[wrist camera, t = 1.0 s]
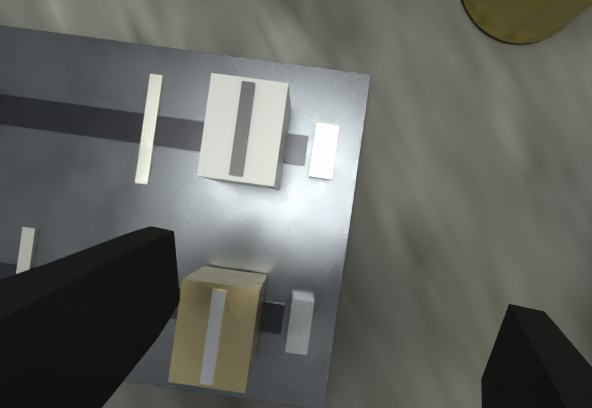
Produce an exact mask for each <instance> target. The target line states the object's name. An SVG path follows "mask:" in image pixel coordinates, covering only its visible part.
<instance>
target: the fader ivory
mask: <svg viewBox="0 0 592 408" xmlns="http://www.w3.org/2000/svg"><path fill="white" fill-rule="evenodd" d="M290 109H291V100H290V92H289V84H288V83H283V82H276V81H268V80H261V79H253V78H246V77H238V76H231V75H223V74H216V73H211V79H210V86H209V93H208V100H207V107H206V114H205V121H204V129H203V136H202V143H201V150H200V157H199V164H198V171H197V176H199V177H203V178H206V179H210V180H213V181H218V182H225V183H233V184H240V185H247V186H254V187H261V188H269V189H276V190H279V188H280V181H281V174H282V167H283V160H284V152H285V145H286V138H287V131H288V124H289V117H290Z"/></svg>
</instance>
